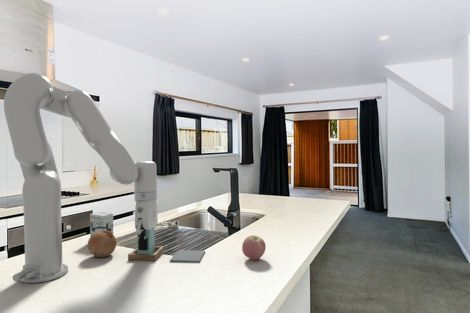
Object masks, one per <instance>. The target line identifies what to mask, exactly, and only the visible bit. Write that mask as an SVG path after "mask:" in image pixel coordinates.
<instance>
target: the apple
mask: <svg viewBox="0 0 470 313" xmlns="http://www.w3.org/2000/svg"><path fill="white" fill-rule="evenodd" d="M241 245H242V248H241V250H242V253H243V255H244V256H245V257H246V258H249V259H250V260H253V261H258V260H259V259H260V258H262V257H263V255H264V254H265V252H266V249H267V248H266V247H267V246H266V242H265V241H264V239H263V238H261V237H260V236H259V235H253V234H252V235H248V236H246V238H245V239H244V240H243V242H242V244H241Z"/></svg>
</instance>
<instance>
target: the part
mask: <svg viewBox="0 0 470 313" xmlns="http://www.w3.org/2000/svg"><path fill="white" fill-rule="evenodd" d="M142 230H145V229H144V228H142ZM142 232H143V233H144V232H145V231H142ZM136 236H137V237H136V241H137V242H136V246H137V247H136V248H137V254H154V253H155V250H154V246H155V227H153V228H152V229H150V230H147V238H148V250H138V235H137V234H136Z"/></svg>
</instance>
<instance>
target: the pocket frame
mask: <svg viewBox="0 0 470 313" xmlns="http://www.w3.org/2000/svg"><path fill="white" fill-rule="evenodd" d="M154 250H155V253H154V254H137V247H136V248H134V249H133V250H132V251H131V252H130V253H128V254H127V261H129V262H130V261H132V262H133V261H135V262H136V261H137V262H138V261H139V262H156V261H157V260H158V259H159V258H160V257H161V256H162V255H163V253H165V246H164V245H162V246H161V245H160V246H158V245H154Z"/></svg>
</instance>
